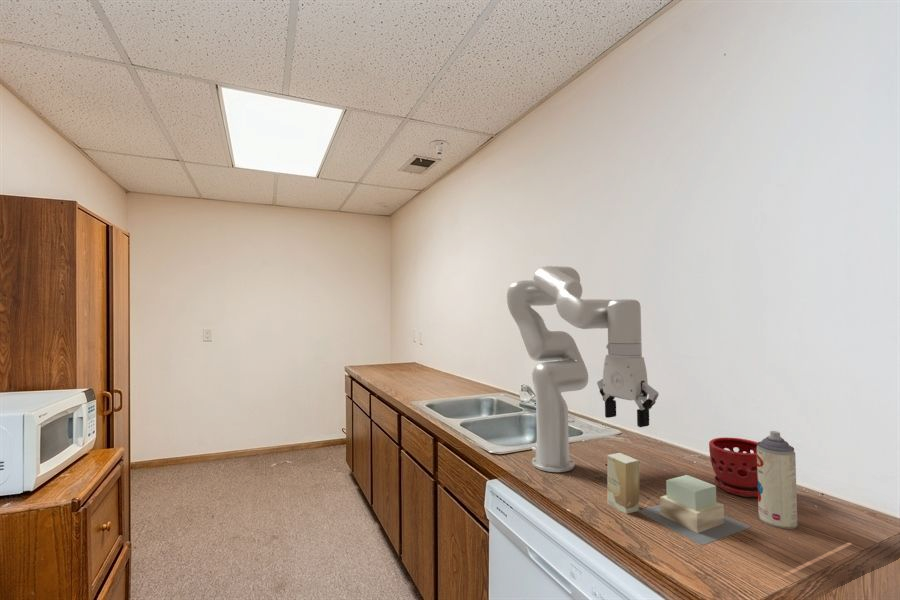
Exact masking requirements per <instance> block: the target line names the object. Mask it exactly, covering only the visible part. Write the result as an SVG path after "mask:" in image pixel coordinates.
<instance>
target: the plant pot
mask: <svg viewBox="0 0 900 600" xmlns="http://www.w3.org/2000/svg"><path fill="white" fill-rule="evenodd" d="M758 442H759V441H754V440H751V439H745V438H739V437H716V438H713V439H711V440H710V441H709V442H708V448H709V457H710V458H709V459H710V462H711V466H712V469H713V472H714V474H715V476H714V478H713V479H714V483H715V485H716V486H718V488H720V489H722V490H724V492H727V493H730V494H733V495H736V496H741V497H747V498H748V497H749V498H750V497H751V498H755V497H756V498H758V477H757V445H758V444H757V443H758ZM734 448H737V449H738V451H735V450H734ZM727 449H728V450H727ZM751 451H752V452H751Z"/></svg>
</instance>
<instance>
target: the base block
mask: <svg viewBox="0 0 900 600" xmlns="http://www.w3.org/2000/svg"><path fill="white" fill-rule="evenodd" d="M659 504H660V515H662V516H664V517H666V518H668V519H670V520H672V521H674V522H676V523H678V524H680V525H682V526H684V527H686V528H688V529H690V530H692V531H694V532H696V533H699V532H702V531H704V530H707V529H710V528H713V527H716V526H718V525H721V524H724V516H725V505H724V504H722V503H721V502H717V501H716V504H715V505H712V506H709V507H706V508H703V509H700V510H696V511H695V510H693V509H691V508H688V507H686V506H684V505H682V504H679V503H677V502H675V501H673V500H670V499H668V498H667V494H665V495H662V496H659Z"/></svg>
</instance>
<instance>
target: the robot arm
mask: <svg viewBox="0 0 900 600" xmlns="http://www.w3.org/2000/svg"><path fill="white" fill-rule="evenodd" d="M582 294H583V286H582V284H581V277H580V274H579V272H578V271H577V269H575V268H573V267H571V266H559V265H558V266H552V265H551V266H549V265H547V266H543V267H540V268H538V269H537V270H536V271H535V272H534V275H533V277H532V280H525V279H524V280H519V281H514V282H513V283H511V284H510V286H509V287H508V289H507V293H506V304H507V308H508V310H509V313H510V315H511V317H512V318H513V320H514V322H515V323H516V326H517V327H518V330H519V331H520V335H521V338H522V341H523V344H524V346H525V348H526V349H525V350H526V351H527V353H528V356H529V358H530V359H531V360H533V361H534V362H541V363H539V364H536V366H535V367H533V369H532V370H533V371H532V373H531V374H532V375H531V377H532V378H531V379H532V383H533V384H532V385H533V389H534V393H535V394H534V395H535V411H536V413H535V414H536V444H535V446H532V448H531V450H532V451H533V452H534V453H535V456H534V457H533V458H532V459H531V465H532V466H533V467H534V468H536V469H537V470H540V471H544V472H550V473H566V472H569V471H571V470H573V469H574V468H575V461H574V460H573V459H571V458H570V451H569V450H570V447H569V446H570V445H569V443H570V442H569V407H568V404H567V402H566V400H565V399H564V397H563V396H562V393H565V392H566V393H567V392H568V393H569V392H575V391H581V390H584V389H585V388H586V387H587V385H588V383H589V372H588V369H587V366H586V363H585V362H584V360H583V357H582V355H581V352H580V350H579V348H578V346H577V344H576V341H575V339H574V338H573V337H572V335H571V334H569V333H568V332H566V331H561V330H558V331H557V330H556V331H555V330H554V331H552V330H549V329H548V328H547V326H546V324H545V320H544V319H543V317H542V315H540V313H538V312H537V311H536V310H535V309H534V308H532V306H534V307H535V306H537V307H538V306H541V307H542V306H553V305H556V309H557V313H558V315H559V317H561V319H563V320H564V321H566V322H567V323H568V324H570V325H572V326H573V327H575V328H577V329H583V330H591V329H592V330H593V329H594V330H595V329H596V330H597V329H600V330H601V329H607V344H606V349H607V353H608V354H606V355H605V358H604V364H603V373H602V379H600V380H598V381H597V382H596V384H597V387H598V389H599V393H600V395H601V397H602V401H603V402H604V416H605V418H608V419H610V418H614V417H617V401H616V400H615V398H616V399H617V398H618V399H622V400H627V401H634V402H635V404H636V405H637V407H638V409H637V410H636V423H637V425H636V426H637V427H639V428H644V427H645V428H646V427H649V426H650V410H651V409H652V408H653V406H655V404H656V401H657V399H658V397H659V392H658V391H657V390H656V389H655V388H653V387H652V386H651V385H650V384H649V381H648V373H647V367H646V366H647V365H646V361H645V358H644V357H643V355H642V353H643V351H642V350H643V349H642V348H643V347H642V346H643V345H642V313H641V310H642V309H641V307H642V306H641V303H640V302H639V300H636V299H628V298H627V299H624V298H623V299H601V298H600V299H599V298H598V299H589V298H588V299H582Z"/></svg>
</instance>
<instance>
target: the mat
mask: <svg viewBox="0 0 900 600" xmlns="http://www.w3.org/2000/svg"><path fill="white" fill-rule="evenodd" d="M636 512H637V513H639V514H641V515H643V516H644V517H647V518H649V519H650V520H652V521H654V522H656V523H659V524H661V525H662V526H664V527H666V528H668V529H670V530H672V531H673V532H675V533H677V534H679V535H682V536H683V537H685V538H687V539H689V540H691V541H692V542H695V543H696V544H699V545H700V546H705V545H708V544H711V543H714V542H716V541H718V540H721V539H723V538H726V537H729V536H732V535H733V534H736V533H740V532H742V531H745V530H748V529H750V528H751V526H749V525H747V524H745V523H742V522H740V521H738V520H736V519H733V518H731V517H729V516H726V515H724V524H721V525H718V526H716V527H713V528H710V529H707V530H704V531H702V532H699V533H696V532H694V531H692V530H690V529H688V528H686V527H684V526H682V525H680V524H678V523H676V522H674V521H672V520H670V519H668V518H666V517H664V516H662V515H660V503H659V504H656V505H653V506H650V507H646V508H643V509H639V511H636Z"/></svg>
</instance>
